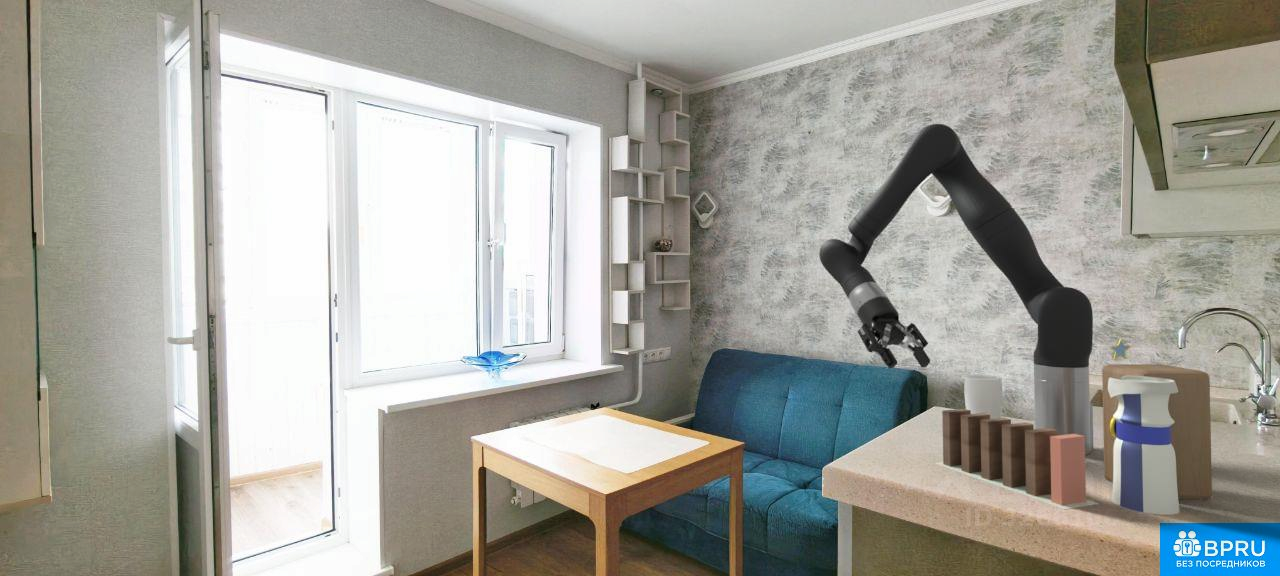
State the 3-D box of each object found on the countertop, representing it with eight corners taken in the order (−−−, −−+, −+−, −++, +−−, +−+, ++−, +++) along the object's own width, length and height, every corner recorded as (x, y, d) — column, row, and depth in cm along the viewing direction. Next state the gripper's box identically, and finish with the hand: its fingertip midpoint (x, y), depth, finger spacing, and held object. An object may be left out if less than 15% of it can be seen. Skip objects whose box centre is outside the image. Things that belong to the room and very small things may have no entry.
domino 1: (964, 461, 112) (963, 408, 112) (971, 464, 110) (970, 410, 110) (943, 464, 110) (942, 410, 110) (950, 466, 109) (949, 412, 109)
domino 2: (983, 467, 108) (982, 413, 108) (990, 470, 106) (989, 414, 106) (961, 470, 106) (960, 415, 106) (969, 473, 105) (968, 416, 105)
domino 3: (1003, 474, 104) (1002, 417, 104) (1011, 477, 102) (1010, 419, 102) (981, 477, 102) (980, 419, 102) (989, 480, 101) (988, 421, 101)
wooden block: (1164, 481, 100) (1162, 363, 100) (1215, 502, 90) (1213, 371, 90) (1101, 480, 101) (1099, 363, 101) (1145, 500, 91) (1142, 371, 91)
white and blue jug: (1095, 503, 90) (1092, 340, 91) (1127, 494, 94) (1124, 337, 94) (1160, 522, 83) (1156, 344, 83) (1192, 511, 86) (1189, 341, 87)
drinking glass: (957, 447, 123) (956, 375, 123) (984, 444, 125) (983, 373, 125) (983, 455, 117) (982, 380, 117) (1011, 453, 118) (1010, 378, 119)
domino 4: (1025, 481, 100) (1024, 422, 100) (1034, 484, 98) (1033, 424, 98) (1002, 485, 98) (1001, 424, 98) (1011, 488, 97) (1010, 427, 97)
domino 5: (1049, 489, 96) (1048, 427, 96) (1059, 492, 94) (1058, 430, 94) (1026, 493, 94) (1024, 430, 94) (1035, 496, 93) (1034, 432, 93)
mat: (963, 461, 113) (963, 459, 113) (1099, 506, 89) (1099, 503, 89) (934, 465, 111) (934, 463, 111) (1064, 511, 87) (1064, 509, 87)
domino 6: (1075, 498, 92) (1074, 433, 92) (1086, 501, 90) (1084, 436, 90) (1051, 502, 90) (1050, 436, 90) (1061, 505, 88) (1060, 438, 89)
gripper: (854, 294, 127) (892, 354, 116) (907, 295, 131) (948, 353, 120) (838, 317, 132) (872, 377, 121) (889, 317, 136) (927, 375, 126)
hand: (910, 365), depth 121 cm, fingers open, 8 cm apart
